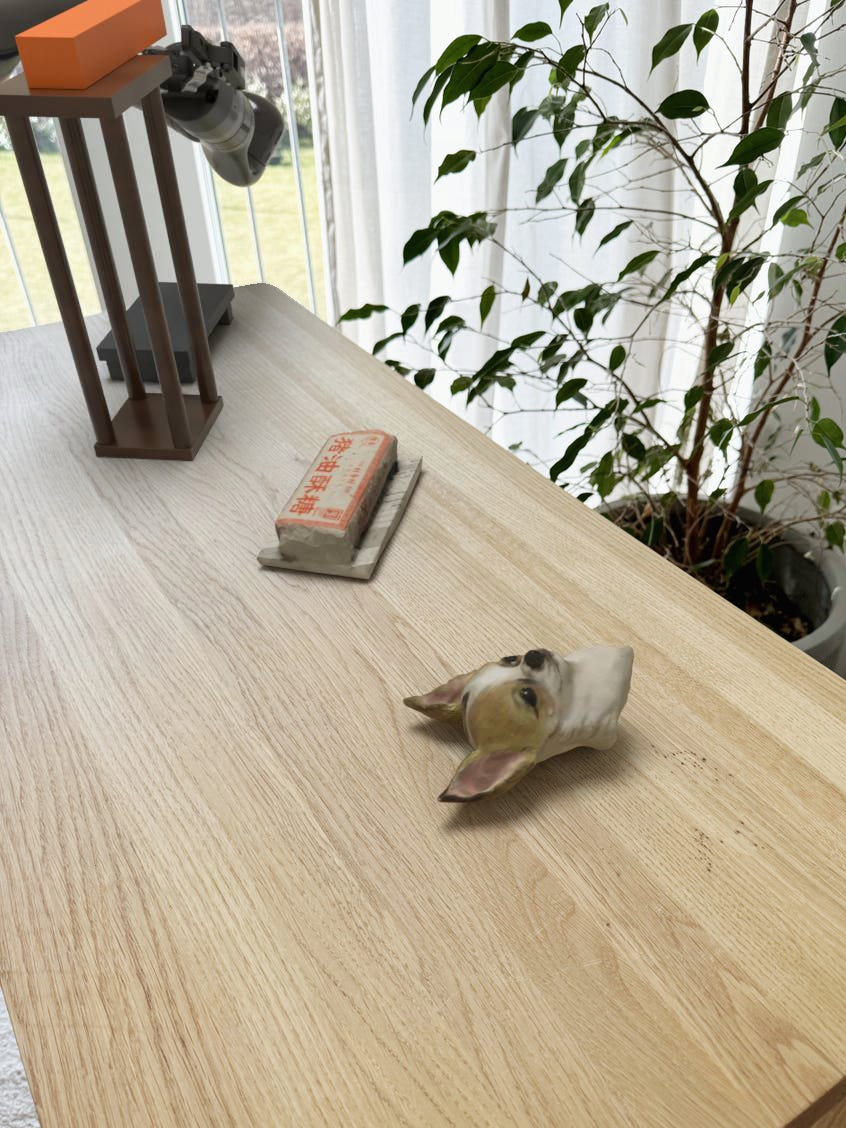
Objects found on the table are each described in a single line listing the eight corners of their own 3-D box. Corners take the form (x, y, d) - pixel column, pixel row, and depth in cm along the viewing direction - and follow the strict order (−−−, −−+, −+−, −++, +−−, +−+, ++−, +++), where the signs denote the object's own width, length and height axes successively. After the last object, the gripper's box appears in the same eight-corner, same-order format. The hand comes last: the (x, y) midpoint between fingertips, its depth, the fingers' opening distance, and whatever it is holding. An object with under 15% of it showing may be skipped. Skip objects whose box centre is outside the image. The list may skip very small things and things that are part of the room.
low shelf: (158, 313, 123) (150, 281, 120) (238, 316, 122) (233, 284, 119) (104, 382, 109) (95, 347, 106) (194, 386, 109) (187, 351, 106)
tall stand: (139, 392, 107) (55, 52, 86) (230, 396, 107) (169, 55, 86) (90, 461, 97) (-19, 94, 76) (191, 466, 96) (110, 97, 75)
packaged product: (367, 535, 79) (248, 521, 81) (372, 584, 83) (257, 569, 84) (422, 424, 93) (319, 413, 94) (424, 469, 96) (325, 458, 97)
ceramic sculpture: (669, 683, 61) (431, 746, 58) (660, 776, 67) (444, 837, 64) (603, 580, 69) (390, 632, 66) (600, 672, 74) (405, 722, 72)
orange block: (119, 34, 92) (110, -11, 90) (167, 35, 92) (159, -11, 89) (28, 88, 77) (14, 36, 75) (85, 89, 77) (72, 37, 74)
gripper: (265, 135, 107) (215, 82, 91) (135, 131, 108) (63, 78, 92) (265, 58, 106) (214, -10, 90) (133, 55, 106) (60, -12, 91)
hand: (138, 35), depth 91 cm, fingers open, 8 cm apart
